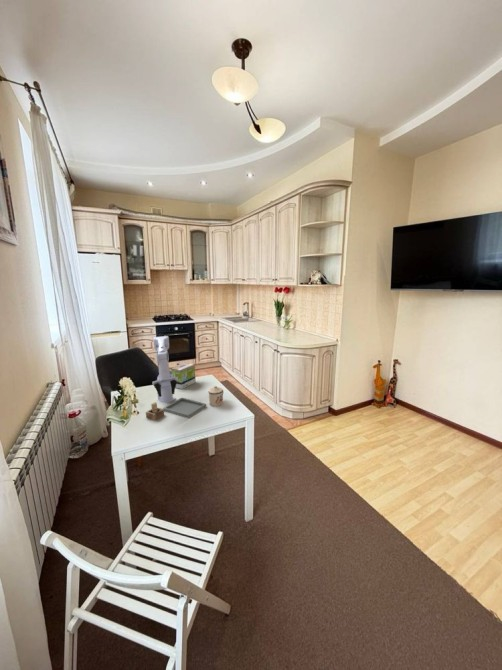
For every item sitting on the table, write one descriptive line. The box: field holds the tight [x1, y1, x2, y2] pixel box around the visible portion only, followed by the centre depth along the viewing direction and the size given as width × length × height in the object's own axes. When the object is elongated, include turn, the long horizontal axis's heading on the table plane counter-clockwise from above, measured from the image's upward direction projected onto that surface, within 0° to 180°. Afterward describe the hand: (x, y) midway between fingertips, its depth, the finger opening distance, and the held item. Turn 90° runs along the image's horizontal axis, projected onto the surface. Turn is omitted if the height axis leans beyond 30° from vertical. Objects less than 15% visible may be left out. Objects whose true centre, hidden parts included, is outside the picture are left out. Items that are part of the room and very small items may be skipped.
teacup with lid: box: [207, 385, 225, 407], centre depth 170 cm, size 12×9×12 cm
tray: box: [162, 397, 207, 419], centre depth 164 cm, size 20×16×2 cm
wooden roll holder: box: [145, 407, 165, 421], centre depth 155 cm, size 7×7×4 cm
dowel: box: [150, 402, 158, 414], centre depth 155 cm, size 3×3×8 cm
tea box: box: [170, 362, 197, 390], centre depth 200 cm, size 15×10×15 cm, turn 151°
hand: (166, 395), depth 154 cm, fingers open, 7 cm apart
